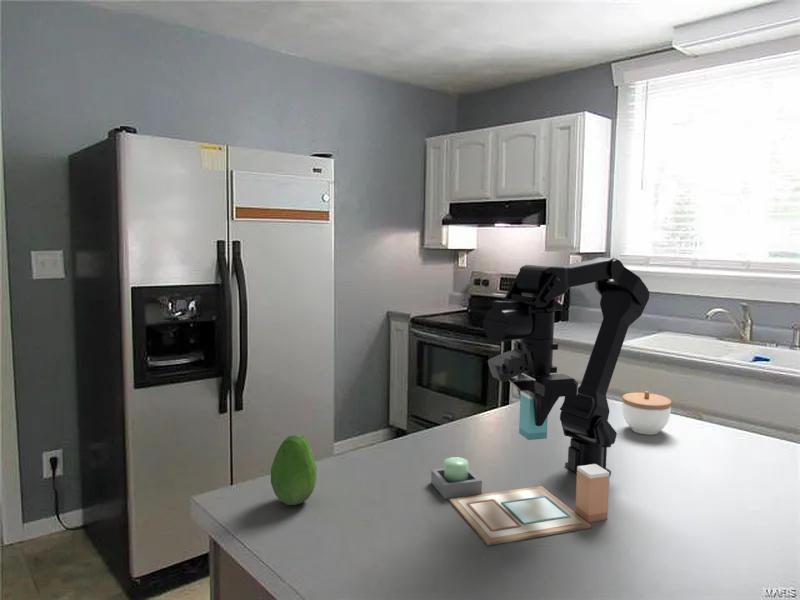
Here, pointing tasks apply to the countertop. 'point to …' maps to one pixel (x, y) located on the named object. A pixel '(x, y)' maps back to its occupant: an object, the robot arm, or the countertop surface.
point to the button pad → (456, 485)
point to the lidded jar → (646, 412)
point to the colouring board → (517, 515)
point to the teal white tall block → (530, 419)
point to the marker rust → (592, 492)
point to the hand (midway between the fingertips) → (533, 422)
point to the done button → (455, 469)
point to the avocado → (294, 471)
